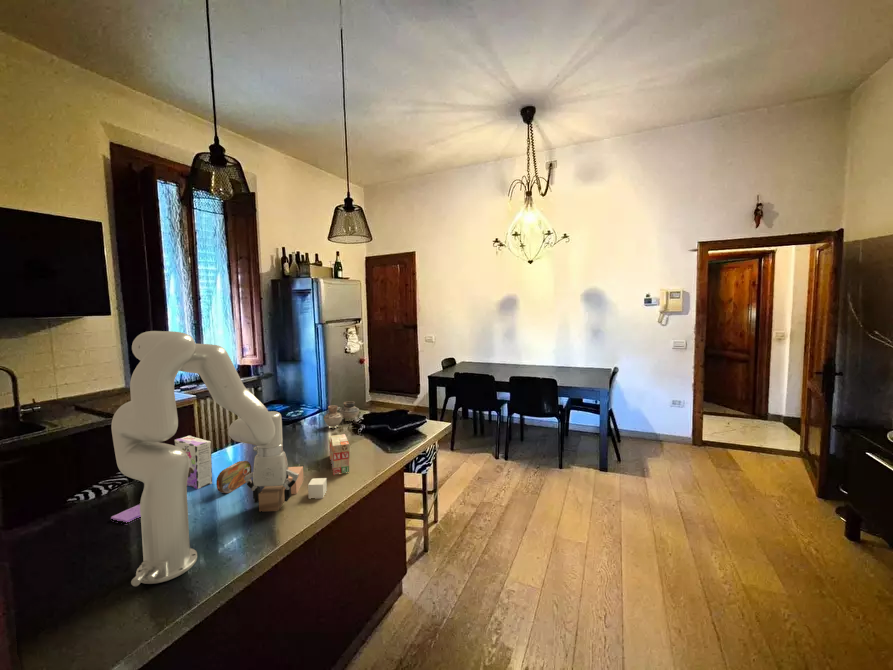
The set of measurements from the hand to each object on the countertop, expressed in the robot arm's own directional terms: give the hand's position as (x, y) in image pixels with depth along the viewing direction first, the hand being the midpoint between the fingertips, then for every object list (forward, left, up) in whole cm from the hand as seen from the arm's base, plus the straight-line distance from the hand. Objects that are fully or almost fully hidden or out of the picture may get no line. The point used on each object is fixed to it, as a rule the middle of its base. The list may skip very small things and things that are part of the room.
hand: (272, 500), depth 128 cm
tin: (+15, +19, -2) cm, 24 cm away
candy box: (+20, +36, -2) cm, 41 cm away
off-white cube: (+7, -13, -2) cm, 15 cm away
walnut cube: (0, 0, -2) cm, 2 cm away
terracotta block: (+13, 0, -2) cm, 13 cm away
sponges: (-1, +41, -3) cm, 41 cm away
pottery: (+90, -5, -2) cm, 91 cm away
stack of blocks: (+33, -15, -2) cm, 37 cm away
